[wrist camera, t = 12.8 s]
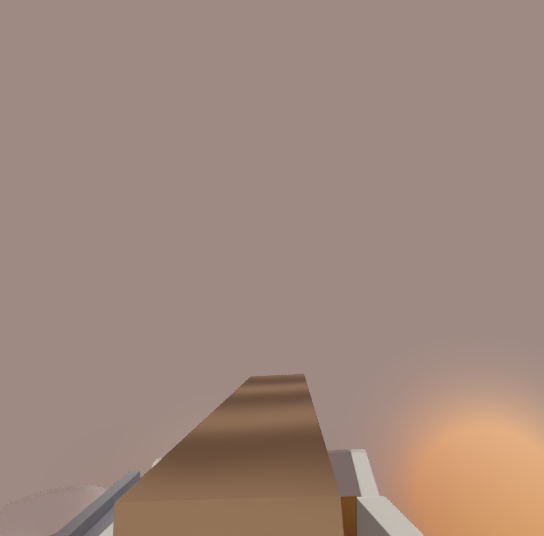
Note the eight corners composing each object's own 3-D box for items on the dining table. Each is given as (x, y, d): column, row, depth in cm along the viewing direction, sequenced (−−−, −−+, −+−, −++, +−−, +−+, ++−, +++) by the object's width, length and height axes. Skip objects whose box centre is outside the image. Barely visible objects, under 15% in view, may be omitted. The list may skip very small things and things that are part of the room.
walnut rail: (368, 805, 5) (340, 494, 6) (101, 801, 5) (114, 502, 6) (308, 431, 23) (303, 373, 24) (253, 434, 23) (250, 376, 24)
